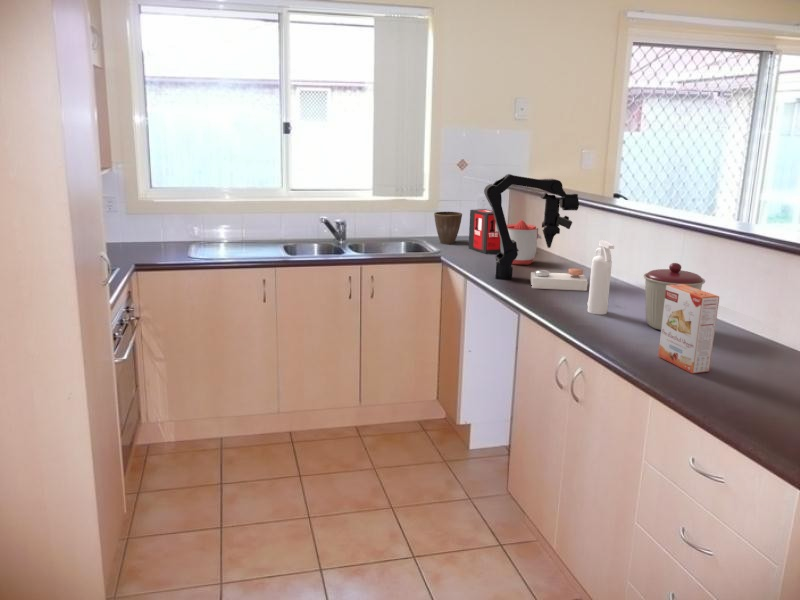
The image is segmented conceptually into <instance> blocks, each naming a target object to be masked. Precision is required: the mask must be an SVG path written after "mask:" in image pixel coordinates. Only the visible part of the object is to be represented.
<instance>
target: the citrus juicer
mask: <svg viewBox="0 0 800 600" xmlns="http://www.w3.org/2000/svg"><path fill="white" fill-rule="evenodd" d="M507 228H508V232H509V235H510V238H511V240H514V241H516V244H517V249H518V250H519V251H517V252H518V256H517V257H516V259H515V260H513V262H512V265H525V266H529V265H530V264H532V263H533V261H534V259H535V256H536V252H537V247H538V245H537V244H538V239H543V238H542V236H541V235H540V234H539V228H537V226H536V225H531V224H527V223H526V222H525V221H524V220H522V219H520V220H519V221H518V222H517V223H516V224H507Z"/></svg>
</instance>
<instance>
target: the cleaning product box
mask: <svg viewBox="0 0 800 600" xmlns="http://www.w3.org/2000/svg"><path fill="white" fill-rule="evenodd" d="M468 249H469V250H472V251H475V252H477V253H481V254H483V255H492V254H495V255H496V254H499V253H500V252H501V249H500V236H499V232H498V229H497V225H496V222H495V218H494V214H493V211H492V209H491V210H490V209H486V208H484V209H483V208H481V209H470V210H469V232H468Z"/></svg>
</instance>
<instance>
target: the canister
mask: <svg viewBox="0 0 800 600" xmlns="http://www.w3.org/2000/svg"><path fill="white" fill-rule="evenodd" d="M668 267H669V269H668V268H667V269H666V268H660V269H659V268H658V269H652V270H650V271H649V272H645V273H644V274H643V278H644V279H645V281H644V282H645V284H644V287H645V318H646V323H647V325H649V326H650V327H651V328H653V329H655V330H659V331H661V328H662V319H663V310H664V302H665V293H666V285H677V284H684V285H687V286H690V287H693V288H696V289H699V290H702V287H703V285H704V284H705V283H706V280H705V279H704V278H703V277H702V276H700V275H699V274H698V273H695V272H691V271H686V270H682V265H681V264H680V263H677V262H673V263H671V264H669V266H668Z"/></svg>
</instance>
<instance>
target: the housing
mask: <svg viewBox="0 0 800 600" xmlns="http://www.w3.org/2000/svg"><path fill="white" fill-rule="evenodd" d="M529 282H530V285H532V286H531V289H545V290H546V289H547V290H565V291H566V290H567V291H584V292H585V291H587V290H588V279H587V277H586V275H585V274H584V273H583V275H579V276H578V278H572V275H570V274H568V273H567V272H566V273H564V272H561V273H559V272H549V276H547V277H540V276H536V275H535V271H531V272H530V281H529Z"/></svg>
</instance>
